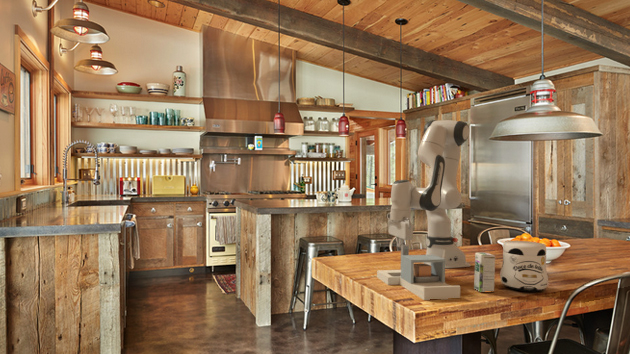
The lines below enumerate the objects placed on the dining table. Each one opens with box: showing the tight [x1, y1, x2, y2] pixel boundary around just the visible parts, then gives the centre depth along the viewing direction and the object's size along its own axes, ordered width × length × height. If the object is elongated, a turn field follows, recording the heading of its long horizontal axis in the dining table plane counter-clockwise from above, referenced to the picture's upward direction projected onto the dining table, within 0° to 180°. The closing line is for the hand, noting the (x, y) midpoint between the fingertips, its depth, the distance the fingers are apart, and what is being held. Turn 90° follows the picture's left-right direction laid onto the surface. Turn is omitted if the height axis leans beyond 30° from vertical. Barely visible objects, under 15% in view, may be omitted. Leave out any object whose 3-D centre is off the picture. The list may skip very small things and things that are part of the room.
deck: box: [376, 269, 461, 301], centre depth 175 cm, size 19×36×4 cm, turn 12°
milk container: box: [499, 240, 549, 292], centre depth 176 cm, size 17×17×18 cm
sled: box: [400, 244, 439, 282], centre depth 182 cm, size 10×23×11 cm, turn 12°
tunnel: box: [400, 254, 446, 284], centre depth 175 cm, size 14×10×9 cm
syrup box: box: [473, 251, 496, 293], centre depth 171 cm, size 6×6×14 cm
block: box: [414, 263, 431, 276], centre depth 175 cm, size 5×5×6 cm
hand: (400, 247), depth 197 cm, fingers closed
